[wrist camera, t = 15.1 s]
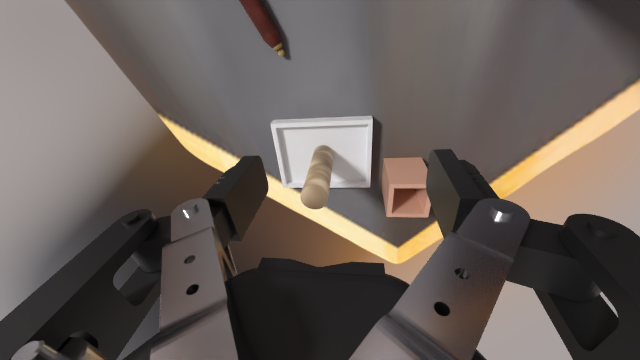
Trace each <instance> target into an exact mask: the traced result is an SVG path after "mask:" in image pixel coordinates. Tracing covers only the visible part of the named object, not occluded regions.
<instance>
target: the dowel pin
mask: <svg viewBox="0 0 640 360" xmlns="http://www.w3.org/2000/svg"><path fill="white" fill-rule="evenodd" d="M333 159H334V152H333V150H332V149H331V148H330V147H328V146H326V145H321V146H318V147H317V148H316V149H315V150H314V153H313V156H312V160H311V163H310V166H309V170H308V173H307V176H306V180H305V183H304V186H303V190H302V193H301V201H302V203H303V204H304V205H305V206H306V207H308V208H311V209H320V208H322V207H324V206H325V205H326V204H327V202H328V195H329V188H330V181H331V173H332V166H333Z"/></svg>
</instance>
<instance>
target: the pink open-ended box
mask: <svg viewBox="0 0 640 360" xmlns="http://www.w3.org/2000/svg"><path fill="white" fill-rule="evenodd" d="M427 171H428V169H427V167H426V165H425V163H424V161H423V159H422V158H384V160H383V175H382V193H383V199H384V204H385V210H386V216H387V217H428V215H429V210H430V206H431V203H430V200H429V198H428V195H427V191H426V177H427Z"/></svg>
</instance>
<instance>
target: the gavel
mask: <svg viewBox="0 0 640 360" xmlns="http://www.w3.org/2000/svg"><path fill="white" fill-rule="evenodd" d="M239 1H240V2H241V4H242V5H243V7H244V9H245V10H246V12H247V14H248V15H249V17H250V18H251V20H252V22H253V23H254V25H255V26H256V28H257V30H258V31H259V33H260V35H261V36H262V38H263V39H264V41H265V42H266V43H267V44H268V45H270V46H271V47H272V48H273V50H274V51H278V54H279V56H284V54H285V52H284V50H283V49H282V48H281V47H282V43H281V40H280V36H279V33H278V30H277V28H276V27H275V25H274V23H273V21H272V20H271V18H270V16H269V15H268V13H267V11H266V9H265V8H264V6H263V4H262V2H261V1H260V0H239Z"/></svg>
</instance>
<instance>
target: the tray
mask: <svg viewBox="0 0 640 360" xmlns="http://www.w3.org/2000/svg"><path fill="white" fill-rule="evenodd" d="M372 127H373V118H372V116H354V117H332V118H309V119H286V120H273V121H272V123H271V129H272V134H273V139H274V144H275V149H276V154H277V159H278V164H279V169H280V174H281V179H282V184H283V188H303V186H304V183H305V180H306V176H307V173H308V170H309V166H310V163H311V160H312V156H313V153H314V150H315V149H316V148H317V147H318V146H321V145H326V146H328V147H330V148H331V149H332V150H333V152H334V159H333V166H332V173H331V181H330V188H369V187H370V181H371V154H372Z"/></svg>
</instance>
